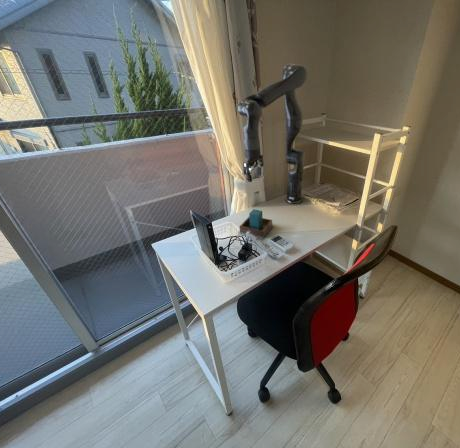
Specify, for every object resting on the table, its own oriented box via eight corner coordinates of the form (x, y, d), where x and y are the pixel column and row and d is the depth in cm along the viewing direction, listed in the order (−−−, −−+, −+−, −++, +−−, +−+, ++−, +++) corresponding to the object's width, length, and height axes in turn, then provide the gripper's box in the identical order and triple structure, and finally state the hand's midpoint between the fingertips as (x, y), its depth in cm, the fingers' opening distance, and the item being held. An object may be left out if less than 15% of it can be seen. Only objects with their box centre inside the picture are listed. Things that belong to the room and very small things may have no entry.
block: (254, 225, 132) (253, 209, 127) (262, 227, 131) (262, 210, 125) (250, 230, 128) (249, 213, 123) (258, 232, 127) (258, 215, 121)
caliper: (246, 239, 122) (245, 229, 119) (247, 238, 123) (247, 228, 119) (274, 259, 110) (274, 248, 107) (276, 257, 111) (276, 246, 108)
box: (250, 221, 136) (250, 215, 134) (272, 226, 133) (272, 220, 131) (240, 233, 127) (239, 226, 124) (263, 238, 123) (262, 231, 121)
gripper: (253, 141, 123) (256, 172, 132) (236, 149, 113) (240, 182, 122) (266, 143, 120) (268, 174, 129) (250, 152, 110) (253, 185, 119)
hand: (254, 178), depth 125 cm, fingers open, 8 cm apart
